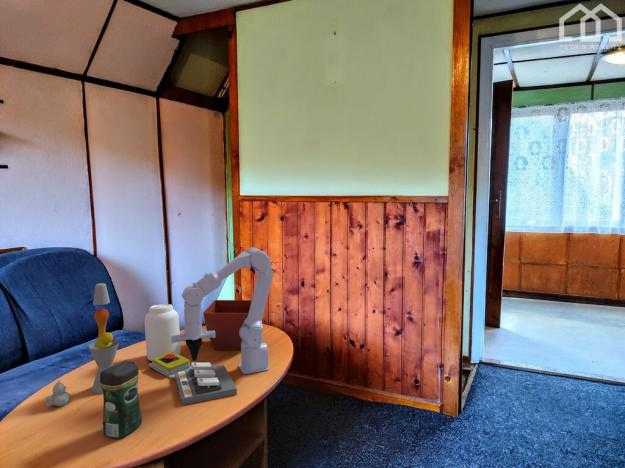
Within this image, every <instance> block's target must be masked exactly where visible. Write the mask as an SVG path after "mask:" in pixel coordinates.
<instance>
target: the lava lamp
mask: <svg viewBox="0 0 625 468" xmlns="http://www.w3.org/2000/svg"><path fill="white" fill-rule="evenodd" d="M93 295H94V296H93V301H92V302H93V303H92V304H93V305H94V306H101V305H107V304H110V303H111V301H110V296H109V292H108V288H107V284H106V283H97V284H95V285H94V294H93ZM109 316H110V313H109V311H108V310H107V309H105V308H98V309H97V310H95V312H94V314H93V317H94V319H95V323H96V324H97V326H98V336H97V339H96V341H94V342H92V343H89V345H88V349H89V352H90V353H91V355H92V358H93V360H94V362H95V363H96V366H97V371H96V374H95V378H94V381H93V385H92V388H91V392H92V393H93V394H97V395H103V390H102V388H101V386H100V373H101V372H102V371H103V370H105V369H107V368H109V367H111V366H113V365H114V361H115V357H116V354H117V351H118V348H119V345H120V340H118V339H114V336H113V334H112V333H111V332H110V331H109V332H106V329H107V327H106V326H107V322H108V319H109Z"/></svg>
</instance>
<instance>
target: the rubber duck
mask: <svg viewBox="0 0 625 468" xmlns="http://www.w3.org/2000/svg"><path fill="white" fill-rule="evenodd" d="M66 389H67V386H65V385H64V383H61V379H60V380H59V381H57V382H56V383H55V384H54V386H53V387H52V394H50V395H49V396H47V397H46V398H45V402H46V405H47V406H52V405H53V406H55V407H61V406H64V405H66V404H67V403H68V402H69V400H70V397H71V396H70V393H69V392H67V391H66Z"/></svg>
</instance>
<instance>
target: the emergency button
mask: <svg viewBox="0 0 625 468" xmlns="http://www.w3.org/2000/svg"><path fill="white" fill-rule="evenodd" d="M149 367H150V368H151V369H153V370H155V371H156V372H158V373H161V374H162V375H164V376H165V377H167V378H169V379H172V380H175V373H177V372H182V371H189V369H192V367H191V361H190V359H188V358H186V357H184V356H183V355H181V354H180V355H179V354H177V353H175V352H170V353H167V354H164V355H161V356H158V357H155V358H153V359H152V361H151V363H150V364H149Z"/></svg>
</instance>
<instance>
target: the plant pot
mask: <svg viewBox="0 0 625 468" xmlns="http://www.w3.org/2000/svg"><path fill="white" fill-rule="evenodd" d="M251 302H252V299H241V300H240V299H214V300H213V301H212V302H211V303H210V304H209V305H208V306H207V308H206V309H205V310H204V311H203V313H202V315H203V320H204V324H205V328H206V331H215V338H212V337H210V338H209V340H210V343H211V346H212V348H213V349H214V351H241V343H242V338H241V337H240V335H239V331H240V328H241V327H242V326H243V324H244V321H245V319H246V318H247V317H248V314H249V310H250V306H251Z"/></svg>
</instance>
